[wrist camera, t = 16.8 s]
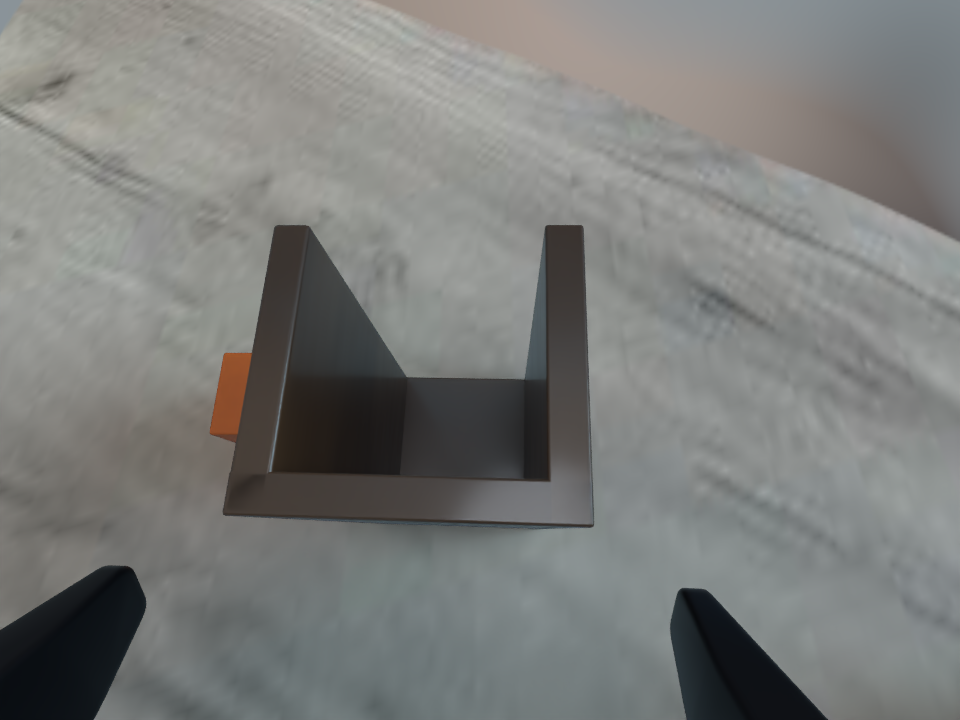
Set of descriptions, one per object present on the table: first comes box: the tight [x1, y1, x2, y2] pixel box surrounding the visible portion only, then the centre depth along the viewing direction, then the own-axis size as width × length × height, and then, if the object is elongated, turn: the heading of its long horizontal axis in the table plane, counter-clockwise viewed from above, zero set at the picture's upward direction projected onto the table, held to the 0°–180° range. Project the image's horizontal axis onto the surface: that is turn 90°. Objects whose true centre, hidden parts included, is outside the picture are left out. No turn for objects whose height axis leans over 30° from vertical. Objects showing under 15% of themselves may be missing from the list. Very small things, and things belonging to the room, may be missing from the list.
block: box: [210, 353, 252, 443], centre depth 20 cm, size 3×3×5 cm
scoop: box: [223, 225, 594, 529], centre depth 16 cm, size 6×7×12 cm
